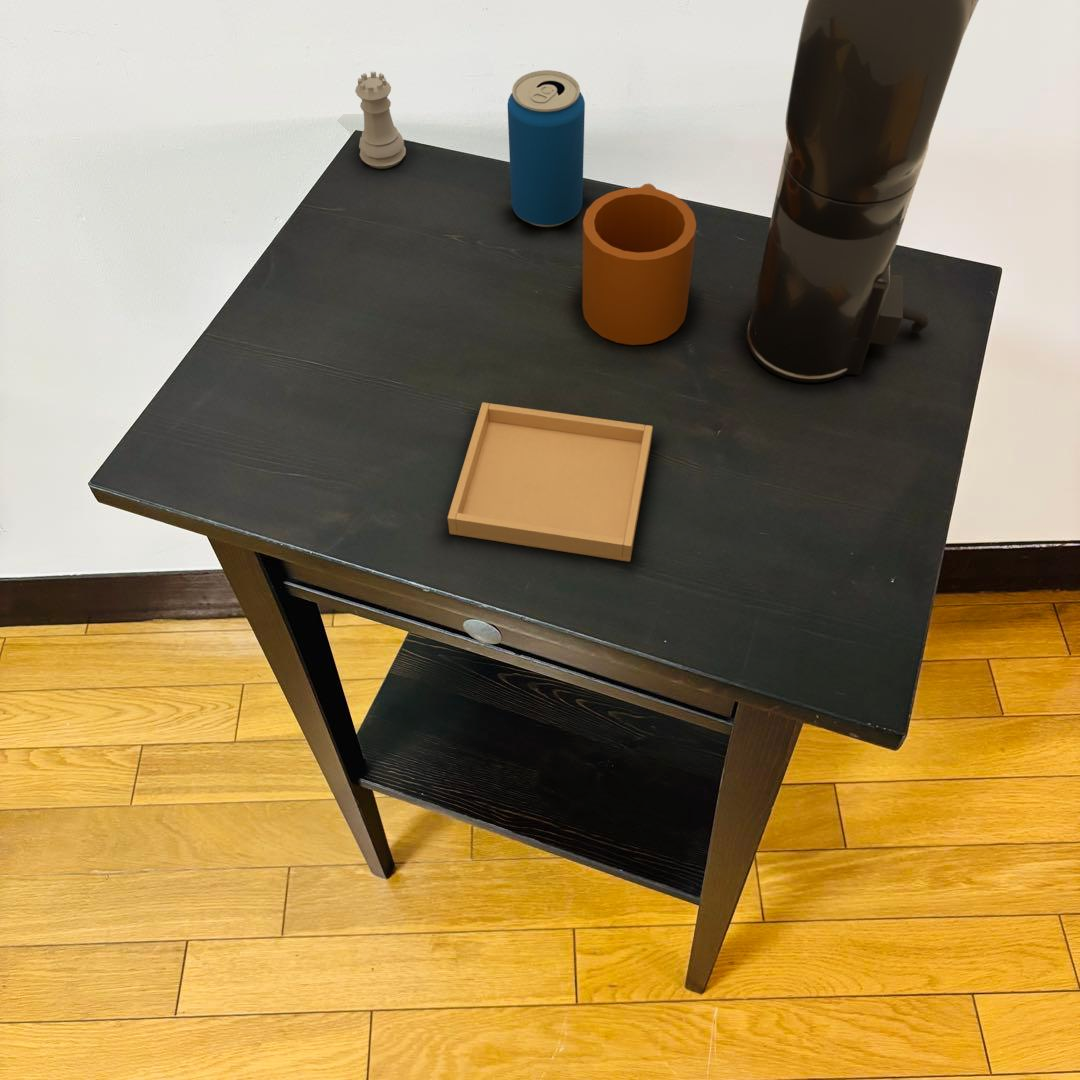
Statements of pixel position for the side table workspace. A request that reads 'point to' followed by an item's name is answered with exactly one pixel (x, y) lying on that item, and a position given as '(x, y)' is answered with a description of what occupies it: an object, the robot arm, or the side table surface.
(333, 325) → the side table surface
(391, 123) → the rook chess piece
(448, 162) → the side table surface
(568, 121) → the beverage can
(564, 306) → the side table surface
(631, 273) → the mug
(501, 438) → the tray
